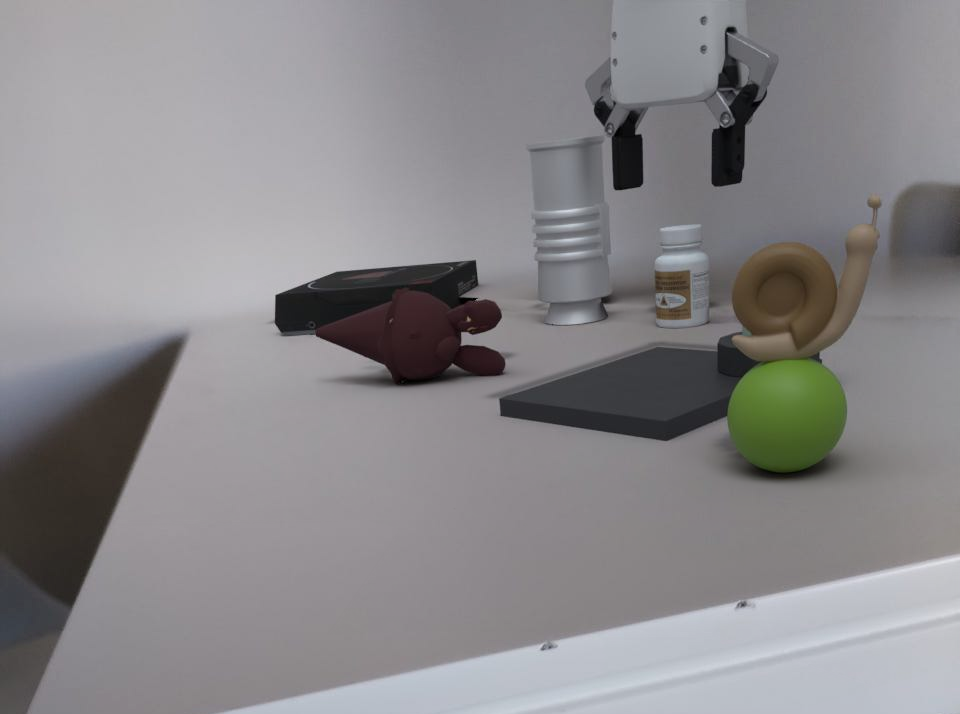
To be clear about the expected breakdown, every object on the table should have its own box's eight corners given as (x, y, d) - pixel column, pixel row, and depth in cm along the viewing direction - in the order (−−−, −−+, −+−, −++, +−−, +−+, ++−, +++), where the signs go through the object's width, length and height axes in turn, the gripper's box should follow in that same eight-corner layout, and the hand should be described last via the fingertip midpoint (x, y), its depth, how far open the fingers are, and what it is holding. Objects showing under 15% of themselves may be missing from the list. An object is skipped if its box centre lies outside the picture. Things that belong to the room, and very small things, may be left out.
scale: (658, 363, 75) (657, 320, 73) (837, 379, 65) (839, 330, 64) (500, 417, 65) (495, 369, 64) (682, 444, 56) (681, 389, 54)
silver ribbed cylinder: (594, 325, 91) (583, 137, 85) (525, 326, 95) (510, 146, 88) (626, 311, 96) (619, 133, 90) (560, 312, 100) (549, 140, 93)
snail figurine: (874, 484, 47) (893, 198, 42) (729, 490, 48) (730, 214, 43) (857, 449, 52) (872, 189, 46) (725, 456, 53) (725, 204, 48)
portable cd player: (337, 308, 119) (331, 272, 117) (479, 298, 114) (475, 260, 113) (277, 336, 105) (269, 295, 103) (436, 325, 100) (431, 282, 98)
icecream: (285, 309, 74) (485, 316, 70) (325, 267, 79) (514, 272, 75) (305, 396, 78) (494, 408, 74) (342, 352, 84) (520, 360, 79)
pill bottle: (645, 328, 88) (642, 230, 84) (678, 318, 90) (676, 223, 87) (687, 331, 84) (685, 230, 81) (719, 320, 87) (719, 222, 84)
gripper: (808, -91, 71) (797, 178, 79) (615, -46, 83) (622, 185, 91) (747, -98, 67) (741, 188, 75) (552, -48, 79) (564, 194, 86)
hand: (675, 186), depth 83 cm, fingers open, 9 cm apart
